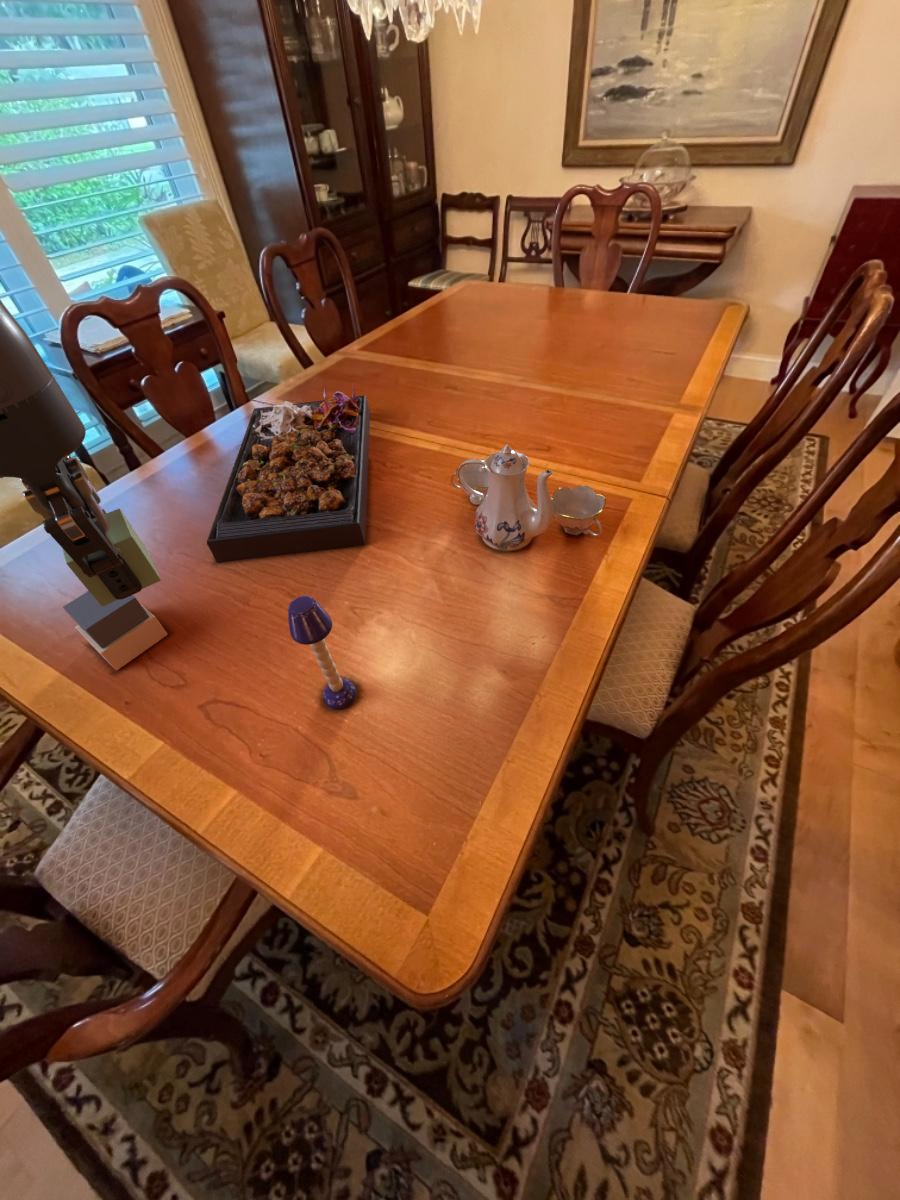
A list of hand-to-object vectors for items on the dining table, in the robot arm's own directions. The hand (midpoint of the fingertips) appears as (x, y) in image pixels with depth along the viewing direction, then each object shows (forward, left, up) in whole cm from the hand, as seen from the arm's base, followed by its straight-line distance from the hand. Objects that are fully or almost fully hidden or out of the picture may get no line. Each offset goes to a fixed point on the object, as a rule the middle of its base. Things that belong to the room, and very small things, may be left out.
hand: (123, 574), depth 47 cm
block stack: (-7, +24, -26) cm, 37 cm away
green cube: (0, 0, 0) cm, 0 cm away
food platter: (+31, +45, -27) cm, 61 cm away
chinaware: (+52, +7, -27) cm, 58 cm away
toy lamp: (+13, -4, -27) cm, 30 cm away
